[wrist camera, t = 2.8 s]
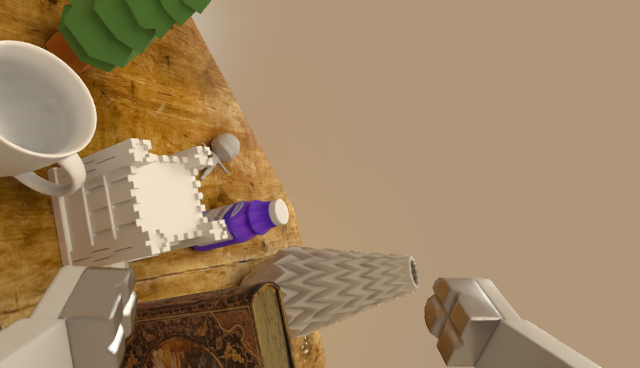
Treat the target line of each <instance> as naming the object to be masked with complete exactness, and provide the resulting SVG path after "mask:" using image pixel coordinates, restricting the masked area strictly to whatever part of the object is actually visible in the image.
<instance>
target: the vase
mask: <svg viewBox="0 0 640 368" xmlns="http://www.w3.org/2000/svg"><path fill="white" fill-rule="evenodd" d="M269 281H271V282H275V283H276V284H277V285H278V286H279V287H280V288H281V292H282V297H283V302H284V307H285V312H286V316H287V321H288V326H289V331H290V336H291V338H297V337H302V336H306V335H310V334H312V333H313V332H314V331H317V330H319V329H321V328H324V327H327V326H329V325H332V324H335V323H336V322H340V321H343V320H345V319H347V318H350V317H352V316H355V315H357V314H359V313H361V312H364V311H366V310H368V309H371V308H373V307H375V306H377V305H379V304H381V303H386V302H390V301H392V300H395V299H396V298H397V297H402V296H404V295H406V294H409V293H411V292H412V291H415V290H418V289H419V287H418V286H419V285H420V284H419V276H418V270H417V268H416V263H415V262H414V258H412V256H402V255H394V254H388V255H387V254H380V253H379V254H378V253H369V254H366V253H360V252H354V251H340V250H333V249H314V248H309V247H298V246H290V247H288V248H285V249H280V250H279V251H278V252H277V253H276V254H275V255H274V256H273V257H272V258H269V259H266V260H264V261H263V262H262V263H261V264H259V265H258V266H257V267H256V268H255V269H254V270H252V271H251V272H250V273H249V274H247V275H246V276H245V277H244V278H243V280H242V281H241V285H240V286H244V285H251V284H257V283H263V282H269Z"/></svg>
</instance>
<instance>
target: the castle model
mask: <svg viewBox="0 0 640 368" xmlns="http://www.w3.org/2000/svg"><path fill="white" fill-rule="evenodd" d="M151 149H152V148H151V143H150V140H140V141H139V139H133V138H130V139H128V140H125V141H123V142H121V143H118V144H116V145H113V146H111V147H108V148H106V149H103V150H101V151H99V152H96V153H94V154H91V155H89V156H86V157H84V158H82V159H81V160H82V162H83V164H84V167H85V170H86V179H85V182H84V184H83V185H82V186H81V187H80V188H79V189H78V190H77V191H76V192H74V193H73V194H70V195H68V196H63V197H53V196H51V199H52V205H53V211H54V217H55V223H56V229H57V235H58V241H59V248H60V254H61V260H62V266H65V265H69V266H87V267H88V266H96V267H116V268H129V262H131V261H135V260H139V259H144V258H148V257H153V256H157V255H159V254H160V253H164V252H169V251H173V250H177V249H182V248H186V247H190V246H195V245H199V244H203V243H208V242H212V241H217V240H221V239H225V238H228V236H227V231H222V228H223V227H226V226H225V221H224V220H218V221H211V222H208V220H207V217H203V214H202V212H203V211H206V210H205V205H201V204H200V200H201V199H203V195H202V193H198V189H197V188H198V187H201V185H200V181H196V179H195V176H196V175H198V170H200V169H203V168H206V167H209V166H212V165H213V162H212V158H208V157H207V156H208V155H211V152H210V147H203V148H202V147H201V146H195V147H192V148H190V149H187V150H184V151H181V152H179V153H176V154H173V155H170V156H166V155H161V156H159V157H157V155H153V153H148V150H151ZM47 174H48V180H49V181H50V182H53V183H56V184H60V185H69V184H71V182H72V181H71V177H70V175H69V174H68V173H67V172H66V170H65V169H63V168H62V167H60V168H51V169H49V170H47Z"/></svg>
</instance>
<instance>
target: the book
mask: <svg viewBox="0 0 640 368" xmlns="http://www.w3.org/2000/svg"><path fill="white" fill-rule="evenodd" d="M125 347H126V351H125V354H124V357H123V360H122V363H121V366H120V368H297V365H296V360H295V355H294V350H293V345H292V341H291V336H290V331H289V326H288V321H287V316H286V312H285V307H284V302H283V297H282V292H281V288H280V287H279V286H278V285H277V284H276V283H275V282H271V281H269V282H263V283H257V284H251V285H244V286H238V287H232V288H226V289H220V290H214V291H208V292H202V293H196V294H190V295H184V296H178V297H172V298H166V299H160V300H154V301H148V302H142V303H137V310H136V317H135V322H134V326H133V329H132V332H131V334H130V335H129V336H128V337H127V338H126V339H125Z"/></svg>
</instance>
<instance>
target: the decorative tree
mask: <svg viewBox="0 0 640 368" xmlns="http://www.w3.org/2000/svg"><path fill="white" fill-rule="evenodd" d="M210 1H211V0H70V3H71V4H67V5H64V9H63V13H62V17H61V21H60V25H59V29H58V30H59V31H60V32H57V33H54V34H53V35H52V37H51V38H50V39H49V40H48V41H47V42H46V44H45V46H46V48H47V49H48V50H49V52H50V53H52V54H53V55H55V56H56V57H58V58H59V59H61V60H62V61H63V62H65V63H66V64H67V65H68V66H69V67H70V68H71V69H72V70H73V71H74V72H75V73H78V74H80V73H82V72H84V71H86V70H88V69H90V68H91V66H94V67H97V68H99V69H102V70H104V71H107V72H111V71H112V70H113V69H114V68H115V67H116V66H119V67H122V68H123V67H124V66H125V65H126V64H127V63H128V62H130V61H131V60H132V59H133V58H134V57H135V56H136V55H137V54H138V53H141V54H142V53H143V52H144V50H145V49H146V48H147V47H148V46H149V45H150V44H151V42H152V41H153V40H154V39H155V38H156V37H158V38H159V39H161V38H162V37H163V36H164V35H165V33H166V32H167V31H168V30H169V29H170V28H171V27H172V26H173V25H174V23H175V22H177V23H178V24H179V25H180V26H182V25H183V24H184V23H185V22H186V21H187V20H188V19H189V18H190V17H191V16H192V15H193V14H194V13H195V12H196V11H197V12H198V13H202V11H203V10H204V9H205V8H206V7H207V5H208V4H209V3H210Z"/></svg>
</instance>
